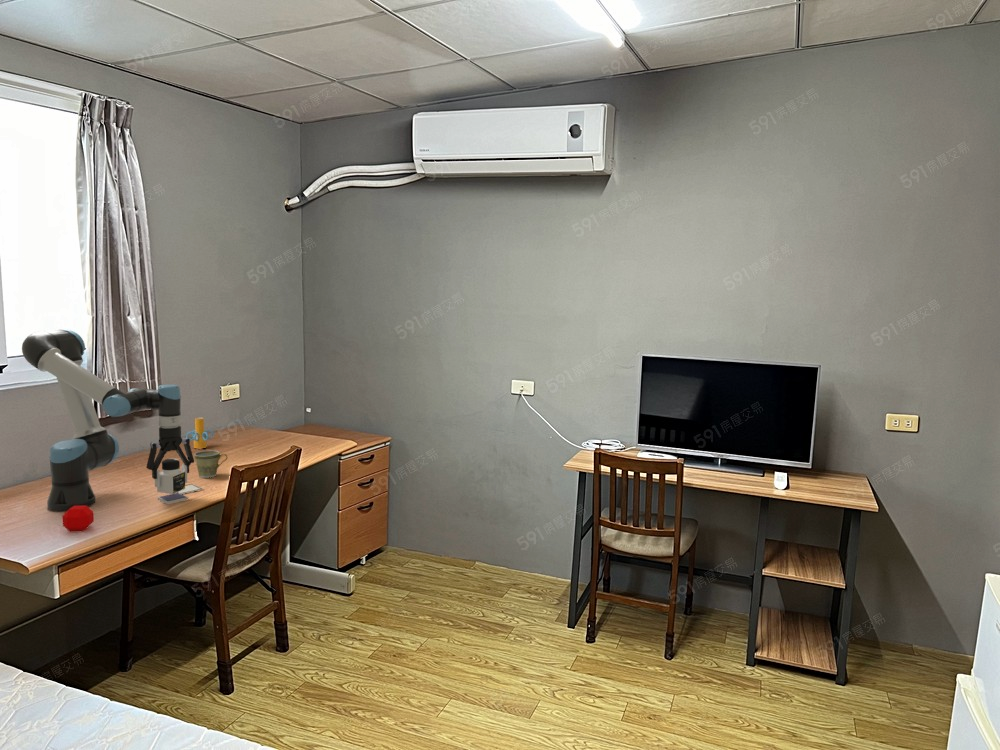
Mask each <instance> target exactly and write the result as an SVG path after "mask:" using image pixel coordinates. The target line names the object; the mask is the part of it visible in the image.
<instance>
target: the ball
mask: <svg viewBox="0 0 1000 750" xmlns="http://www.w3.org/2000/svg"><path fill="white" fill-rule="evenodd" d="M94 515H95V513H94V510H92V509H91V508H90V506H89V507H88V506H86V505H85V506H73V507H72V508H70V509H69V510H68V511H65V513H64V514H63V515H62V527H64V529H66V530H67V531H68V532H71V531H81V532H84V531H86V529H88V528H89V526H90V525H92V524H93V523H94V522H95V519H94V518H95V517H94ZM87 527H88V528H87ZM71 533H72V532H71Z"/></svg>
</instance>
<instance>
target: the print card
mask: <svg viewBox="0 0 1000 750" xmlns="http://www.w3.org/2000/svg"><path fill="white" fill-rule="evenodd" d="M203 489H204V488H203V487H200V486H199V485H196V484H195V483H189V484H185V489H184V490H181V491H179V492H177V493H180V494H183V495H186V494H185V493H188V494H190V492H192V493H195V492H194V491H197V492H199V491H198V490H202V491H204V490H203Z"/></svg>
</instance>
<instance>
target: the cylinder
mask: <svg viewBox="0 0 1000 750" xmlns="http://www.w3.org/2000/svg"><path fill="white" fill-rule="evenodd" d="M194 422H195V424H194V426H195V427H194V428H195V429H193V430H192V431H188V432H186V437H185V438H188V439H190V441H193V449H194V448H206V447H207V448H208V440H210V439H212V438H213V437H214V432H213V431H212V430H205V418H204V417H196V418H194ZM208 433H211V436H209V434H208ZM190 434H191V435H192V438H190V437H189V436H190ZM207 448H206V449H207Z"/></svg>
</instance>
